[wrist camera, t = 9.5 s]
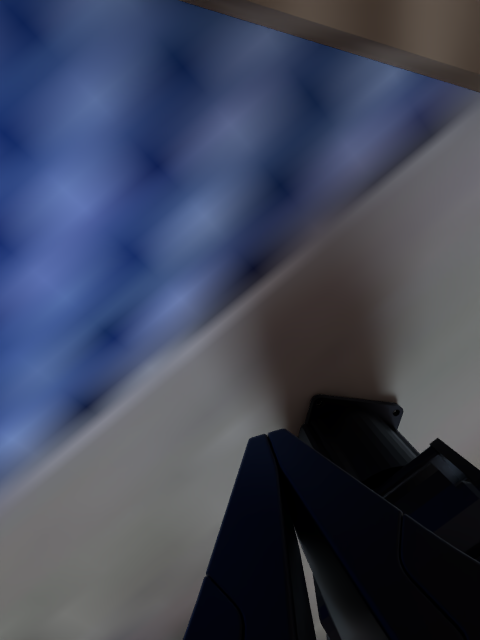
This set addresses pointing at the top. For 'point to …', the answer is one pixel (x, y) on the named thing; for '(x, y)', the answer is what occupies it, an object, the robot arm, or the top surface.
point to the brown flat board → (379, 30)
